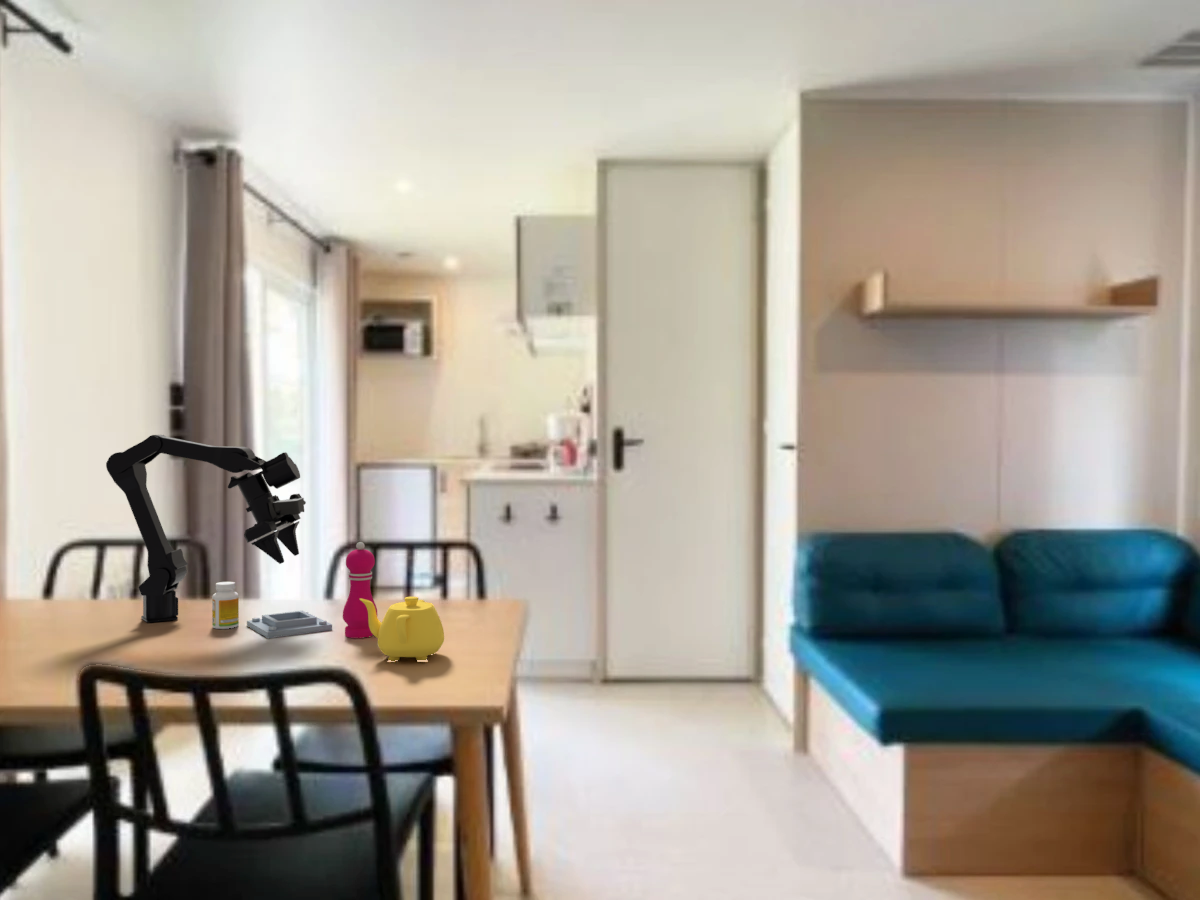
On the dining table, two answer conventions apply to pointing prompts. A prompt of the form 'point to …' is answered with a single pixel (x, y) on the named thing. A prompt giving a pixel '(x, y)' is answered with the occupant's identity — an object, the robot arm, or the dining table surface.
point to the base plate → (288, 624)
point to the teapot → (407, 629)
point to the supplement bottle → (225, 606)
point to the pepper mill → (358, 592)
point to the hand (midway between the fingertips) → (289, 558)
